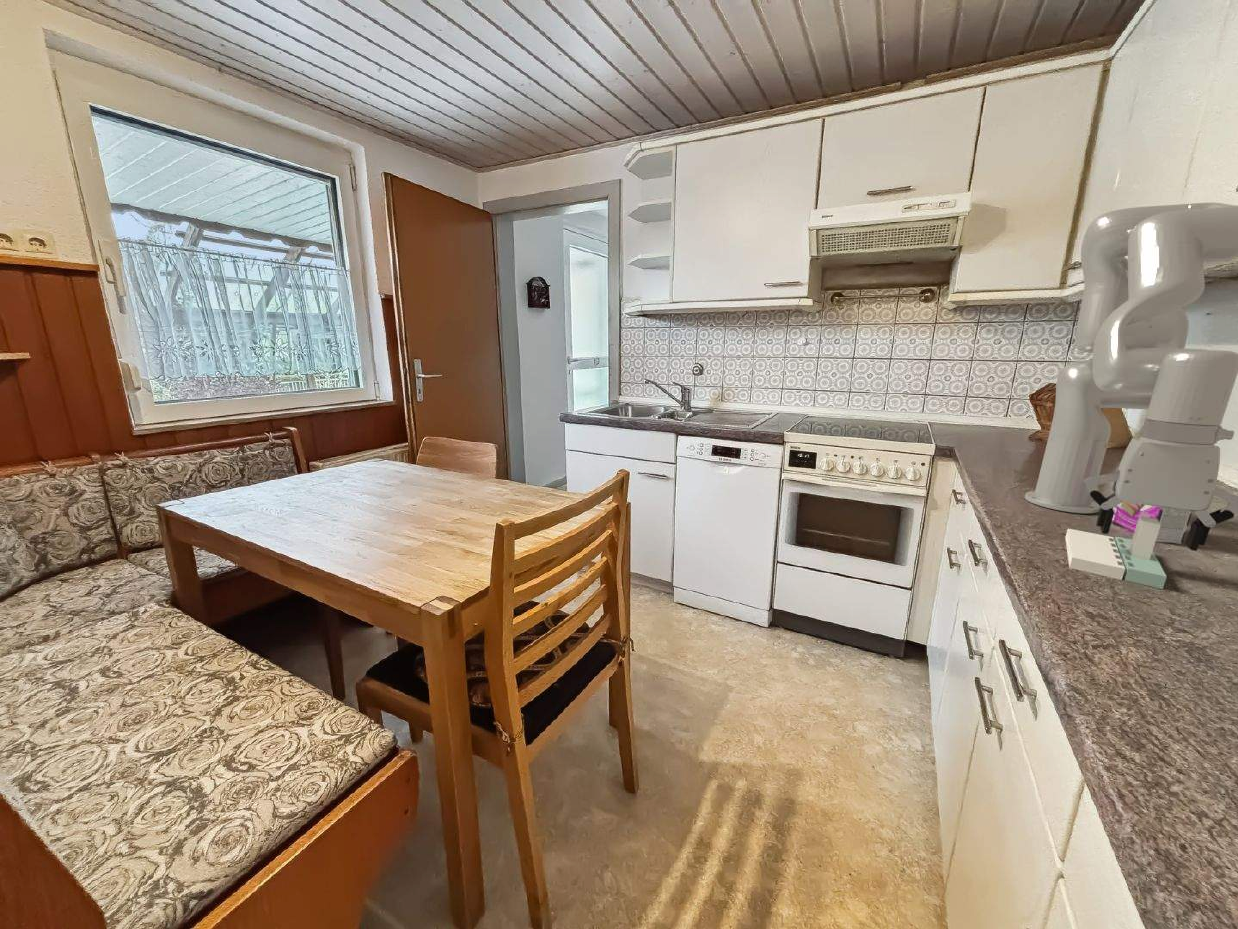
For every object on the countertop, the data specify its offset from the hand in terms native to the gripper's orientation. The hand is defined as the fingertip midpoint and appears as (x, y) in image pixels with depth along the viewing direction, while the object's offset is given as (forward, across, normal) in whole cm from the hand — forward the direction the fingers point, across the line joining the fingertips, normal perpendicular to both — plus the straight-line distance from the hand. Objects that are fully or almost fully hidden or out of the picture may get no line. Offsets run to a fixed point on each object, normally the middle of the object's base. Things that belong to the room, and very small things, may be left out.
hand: (1145, 539), depth 77 cm
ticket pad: (+5, +5, 0) cm, 7 cm away
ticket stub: (+5, 0, 0) cm, 5 cm away
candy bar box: (+5, -3, -22) cm, 23 cm away
